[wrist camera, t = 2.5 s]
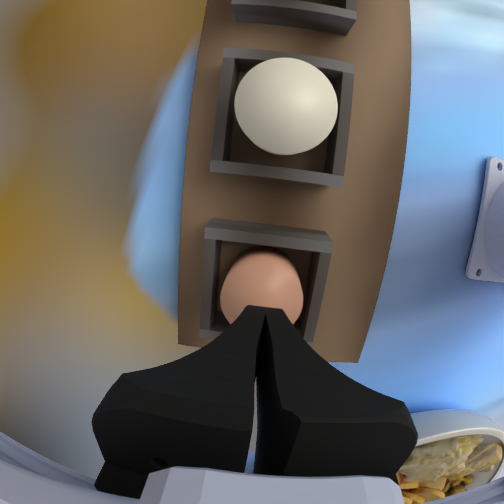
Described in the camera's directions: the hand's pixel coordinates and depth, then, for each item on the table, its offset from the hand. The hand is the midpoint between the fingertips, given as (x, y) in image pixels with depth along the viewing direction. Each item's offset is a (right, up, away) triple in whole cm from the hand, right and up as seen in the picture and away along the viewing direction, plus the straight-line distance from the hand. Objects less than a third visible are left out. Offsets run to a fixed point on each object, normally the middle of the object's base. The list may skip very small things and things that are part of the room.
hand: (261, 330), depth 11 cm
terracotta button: (0, +1, +5) cm, 5 cm away
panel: (+2, +9, +4) cm, 10 cm away
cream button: (+1, +9, +1) cm, 9 cm away
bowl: (+12, -22, +14) cm, 29 cm away
